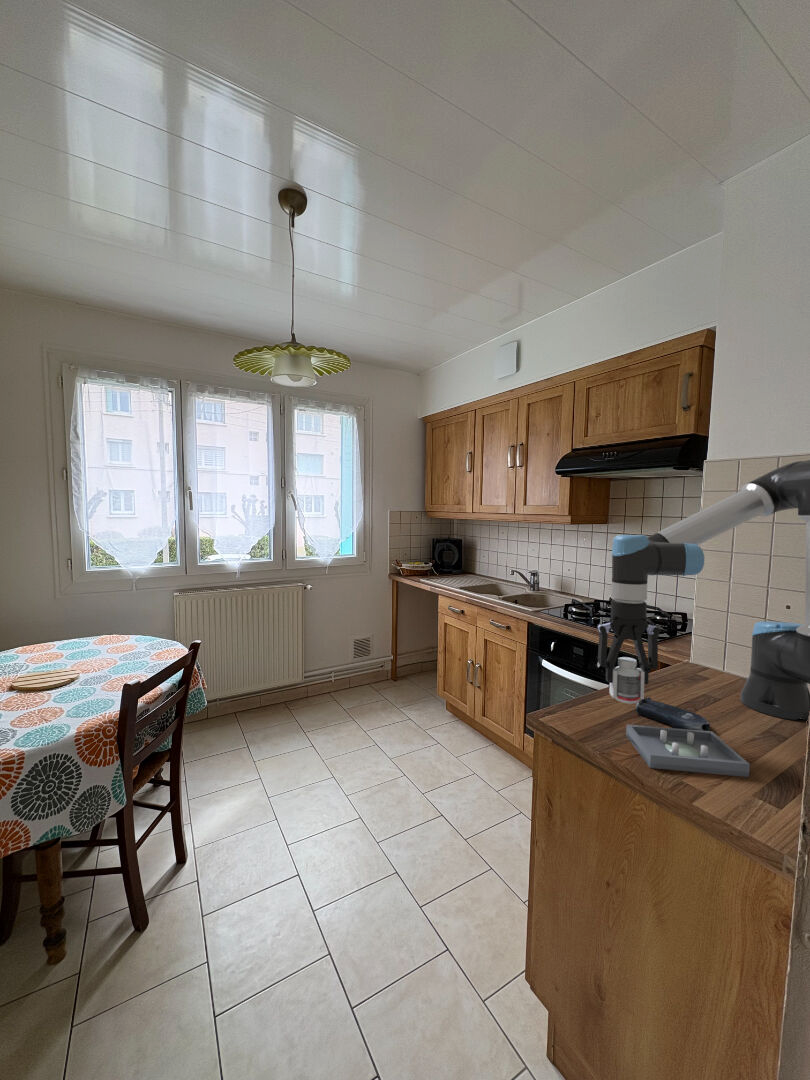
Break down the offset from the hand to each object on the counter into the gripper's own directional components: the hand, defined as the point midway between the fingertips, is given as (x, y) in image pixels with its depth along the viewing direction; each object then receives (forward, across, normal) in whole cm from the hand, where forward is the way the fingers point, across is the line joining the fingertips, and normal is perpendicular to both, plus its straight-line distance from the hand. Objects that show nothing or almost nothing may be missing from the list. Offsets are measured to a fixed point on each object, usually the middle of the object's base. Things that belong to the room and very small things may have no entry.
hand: (626, 696), depth 105 cm
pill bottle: (+1, 0, 0) cm, 1 cm away
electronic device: (+8, -13, -4) cm, 16 cm away
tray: (+7, -7, +12) cm, 16 cm away
